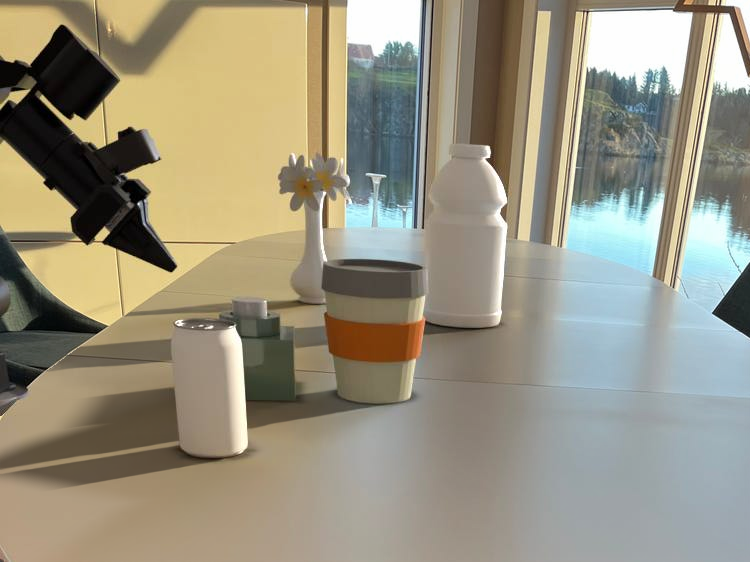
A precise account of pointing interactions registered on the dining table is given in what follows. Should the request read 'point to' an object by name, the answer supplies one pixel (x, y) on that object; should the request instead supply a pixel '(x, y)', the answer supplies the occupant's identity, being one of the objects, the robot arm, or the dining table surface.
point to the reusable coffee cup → (374, 326)
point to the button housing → (266, 356)
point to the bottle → (465, 242)
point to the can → (209, 387)
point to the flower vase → (312, 217)
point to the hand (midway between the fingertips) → (174, 269)
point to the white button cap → (249, 307)
